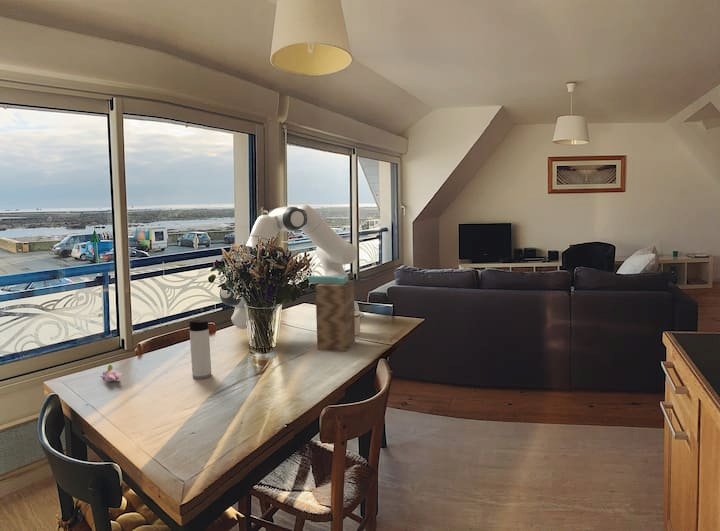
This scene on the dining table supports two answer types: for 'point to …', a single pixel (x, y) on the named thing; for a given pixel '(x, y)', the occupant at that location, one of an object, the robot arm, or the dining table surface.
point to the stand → (335, 316)
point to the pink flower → (111, 374)
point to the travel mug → (200, 349)
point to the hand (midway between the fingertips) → (291, 290)
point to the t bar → (328, 279)
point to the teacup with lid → (357, 322)
